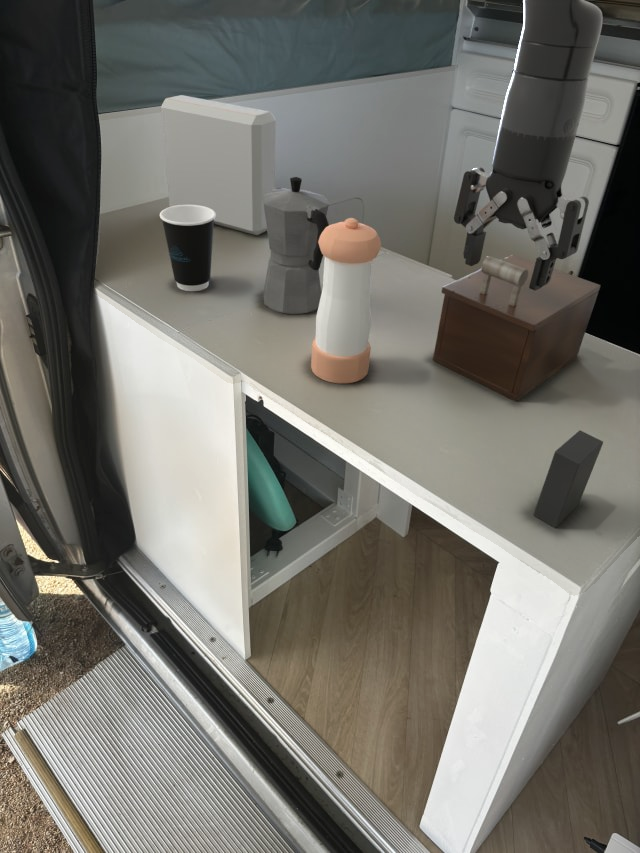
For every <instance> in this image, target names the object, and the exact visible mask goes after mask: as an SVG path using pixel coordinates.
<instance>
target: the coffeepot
mask: <svg viewBox="0 0 640 853" xmlns="http://www.w3.org/2000/svg"><path fill="white" fill-rule="evenodd" d="M289 181H290V188H286V187H277V188H275V189H270V190H271V193H268V194H265V195H263V204H264V211H265V219H266V226H267V231H266V233H267V240H268V247H269V250H270V256H269V258H268V264H267V270H266V275H265V280H264V281H265V282H264V287H263V293H262V295H263V296H262V297H263V305H264V306H265V307H267V308H269V309H270V310H272V311H274V312H276V313H280V314H286V315H303V314H308V313H311V312H314V311H317V310H318V307H319V303H320V298H321V294H322V287H321V286H322V285H321V278H320V268H321V264H322V261H323V258H324V255H323V254H322V252H321V250H320V247H319V243H318V241H319V238H320V235H321V233H322V232H323V231H324V229H325V228H326V227H327V226H329V225H330V223H329V220H328V217H327V216H328V210H329V207H330V205H329V202H328V199H327V197H326V195H323V194H319V193H316V192H313V191H310V190H306V189H301V187H302V181H303V179H302V178H301V177H299V176H293V177H289Z"/></svg>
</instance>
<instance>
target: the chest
mask: <svg viewBox="0 0 640 853" xmlns="http://www.w3.org/2000/svg"><path fill="white" fill-rule="evenodd" d="M443 295H444V296H443V301H442V307H441V313H440V317H439V324H438V329H437V333H436V334H437V335H436V339H435V341H436V342H435V346H434V350H433V351H434V352H433V357H432V361H433V362H435V363H437V364H439V365H441V366H443V367H445V368H447V369H449V370H451V371H453V372H455V373H458V374H459V375H462V376H464V377H465V378H468V379H469V380H472V381H474V382H475V383H478V384H480V385H482V386H484V387H486V388H488V389H490V390H492V391H493V392H496V393H498V394H500V395H502V396H504V397H506V398H508V399H510V400H512V401H514V402H518V401H519V400H520V399H522V398H523V397H525V396H526V395H528V394H529V393H531V392H532V391H533V390H534V389H536V388H538V387H539V386H540V385H541V384H543V383H544V382H546V381H547V380H548V379H550V378H551V377H553V376H554V375H556V374H557V373H558V372H559V371H561V370H562V369H564V368H565V367H566V366H568V365H569V364H570V363H572V362H574V361H575V360H576V359H577V358H578V356H579V352H580V349H581V346H582V342H583V340H584V337H585V333H586V330H587V328H588V325H589V322H590V319H591V316H592V313H593V310H594V306H595V304H596V302H597V297H598V296H599V291H598V292H596V293H594V294H593V295H591V296H589V297H588V298H586V299H585V300H583V301H581V302H580V303H578V304H576V305H575V306H573V307H571V308H570V309H568V310H567V311H565V312H563V313H562V314H560V315H558V316H557V317H555V318H554V319H552V320H550V321H549V322H547V323H545V324H544V325H542V326H540V327H539V328H537V329H536V330H534V331H531V330H529V329H526V328H524V327H522V326H519V325H517V324H514V323H512V322H510V321H507V320H505V319H502V318H500V317H498V316H495V315H493V314H491V313H488V312H486V311H483V310H481V309H479V308H476V307H474V306H471V305H469V304H467V303H464V302H462V301H460V300H457V299H455V298H452V297H450V296H448V295H445V294H443Z"/></svg>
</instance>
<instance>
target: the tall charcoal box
mask: <svg viewBox="0 0 640 853" xmlns="http://www.w3.org/2000/svg"><path fill="white" fill-rule="evenodd" d="M603 444H604V441H603V440H601V439H599V438H597V437H595V436H593V435H591V434H588V433H587V432H585V431H583V430H580V429H579V430H578V431H577V432H576V433H575V434H573V435H572V436H571V437H570V438H569V439H568V440H567V441H565V442H564V443H563V444H562V445H561V446H560V447H558V448H557V449H556V450H555V451H554V452H553V456H552V459H551V462H550V465H549V467H548V471H547V474H546V477H545V480H544V482H543V485H542V488H541V491H540V495H539V497H538V500H537V503H536V506H535V509H534V512H533V516H534V517H535V518H537V519H539V520H541V521H542V522H544V523H545V524H547V525H549V526H551V527H553V528H554V529H555V528H558V526H559V525H560V524H561V523H562V522H564V520H565V519H566V518H567V517H568V516H569V515H570V514H571V513H572V512H573V511H574V510H575V509H576V508H577V507H578V506H579V505H580V503H581V500H582V498H583V495H584V492H585V491H586V488H587V485H588V482H589V480H590V478H591V475H592V471H593V470H594V467H595V464H596V462H597V459H598V457H599V454H600V452H601V449H602V447H603Z"/></svg>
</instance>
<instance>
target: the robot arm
mask: <svg viewBox="0 0 640 853" xmlns="http://www.w3.org/2000/svg"><path fill="white" fill-rule="evenodd" d="M522 3H523V5H522V6H523V24H522V30H521V35H520V39H519V43H518V47H517V48H518V49H517V52H516V58H515V63H514V68H513V69H514V70H513V71H512V76H511V79H510V82H509V85H508V89H507V91H506V94H505V97H504V98H505V99H504V103H503V107H502V110H501V119H500V121H499V128H498V132H497V138H496V142H495V147H494V152H493V158H492V162H491V166H492V170H491V172H490V173H487V172H486V171H485V169H484V168H483V167H475V168H473V169H470V170H467V171H465V172H464V173H463V177H462V181H461V186H460V189H459V194H458V198H457V201H456V202H457V203H456V206H455V211H454V215H453V221H454V222H455V224H458V225H462V227H463V228H465V231H466V238H465V243H464V249H463V253H462V254H463V259H464V260H465V262H464V263H465V265H466V266H469V267H473V266H476V265H477V264H479V263H480V261H481V258H482V254H483V249H484V245H485V239H486V235H487V231H484V230H485V229H486V228H487V227H488V226H490V224H491V223H493V222H494V221H495V220H496V219H498V223H499V222H500V223H502V224H510V225H513V226H514V227H515V228H517V229H520V230H527V233H528V236H529V238H530V240H532V242H534V244H535V248H536V250H537V253H538V257H536V258H535V262H536V263H535V266H534V270H533V274H532V278H531V282H530V285H529V288H530V289H532V290H535V291H536V290H538V289H540V288H542V287H543V286H544V285H546V284H548V282H549V281H550V279H551V275H552V272H553V269H555V264H556V261H557V260H558V259H559V260H565V259H566V258H568V257H571V256H572V255H575V254H576V253H577V252H578V250H579V246H580V243H581V242H580V241H581V238H582V237H581V236H582V233H583V229H584V224H585V221H586V216H587V213H588V210H589V209H588V208H589V205H590V201H589V198H588V197H586V196H580V197H578V198H575V197H571V196H566V195H563V191H562V184H563V181H564V179H565V176H566V173H567V170H568V167H569V163H570V162H569V161H570V159H571V154H572V152H573V147H574V143H575V140H576V136H577V133H578V128H579V125H580V122H581V118H582V114H583V110H584V107H585V101H586V95H587V88H588V87H587V86H588V82H589V78H590V73H591V70H592V66H593V62H594V59H595V55H596V52H597V47H598V44H599V41H600V37H601V33H602V29H603V22H604V21H603V20H604V19H603V12H602V10H601V8H599V6H597V5H596V4H594V3H592V2H589V1H587V0H522ZM484 190H486V193H487V195H488V198H489V202H488V203H487V204H486V205H484V206H483V207H482V208H481V209H480V210H479V211H478V212H477V213H476V211H477V207H478V203H479V199H480V195H481V192H482V191H484ZM557 208H558V209H559V211H560V212H559V217H560V218H561V219H562V224H561V228H560V233H559V237H558V235H557V226H556V223H555V220H554V217H553V214H552V212H554V211H555V210H556V209H557Z"/></svg>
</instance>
